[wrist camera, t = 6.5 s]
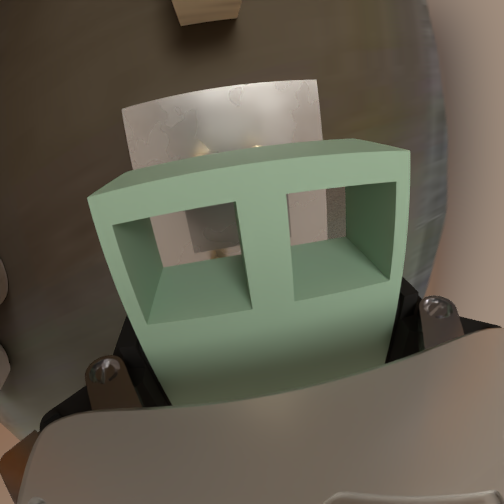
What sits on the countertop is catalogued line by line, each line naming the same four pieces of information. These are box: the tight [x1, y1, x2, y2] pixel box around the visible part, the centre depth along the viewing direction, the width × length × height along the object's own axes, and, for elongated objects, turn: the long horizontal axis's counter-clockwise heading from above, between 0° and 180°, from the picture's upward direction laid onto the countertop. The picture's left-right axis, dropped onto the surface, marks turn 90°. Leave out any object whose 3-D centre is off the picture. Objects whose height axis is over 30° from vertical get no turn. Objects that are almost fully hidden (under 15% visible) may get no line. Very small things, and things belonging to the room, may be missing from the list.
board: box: [87, 139, 410, 406], centre depth 9 cm, size 11×7×3 cm, turn 7°
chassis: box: [122, 80, 327, 267], centre depth 17 cm, size 16×12×7 cm
